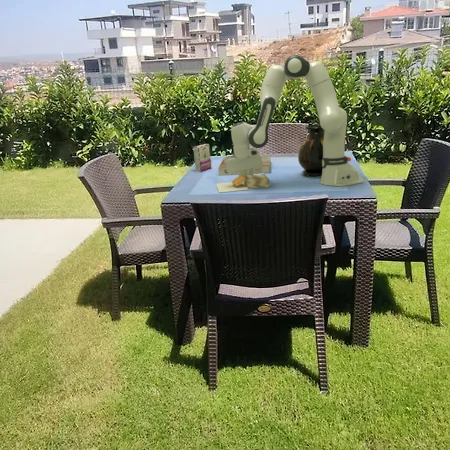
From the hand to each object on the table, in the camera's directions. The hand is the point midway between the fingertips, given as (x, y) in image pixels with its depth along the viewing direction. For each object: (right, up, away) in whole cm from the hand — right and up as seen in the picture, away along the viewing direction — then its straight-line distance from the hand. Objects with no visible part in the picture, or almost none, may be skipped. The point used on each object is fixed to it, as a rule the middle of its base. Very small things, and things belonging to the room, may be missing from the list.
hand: (246, 177), depth 245 cm
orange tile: (-4, -3, 0) cm, 5 cm away
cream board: (-8, -5, +1) cm, 10 cm away
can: (+1, +1, +18) cm, 19 cm away
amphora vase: (+42, +3, +15) cm, 45 cm away
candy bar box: (-26, +10, +50) cm, 57 cm away
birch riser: (+6, -4, +2) cm, 7 cm away
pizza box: (+2, +10, +43) cm, 45 cm away
